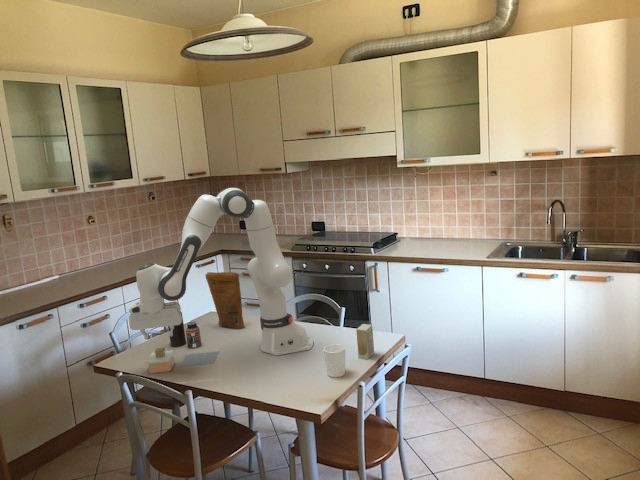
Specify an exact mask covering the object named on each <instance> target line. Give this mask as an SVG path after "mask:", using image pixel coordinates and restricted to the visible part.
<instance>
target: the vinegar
mask: <svg viewBox="0 0 640 480" xmlns="http://www.w3.org/2000/svg"><path fill="white" fill-rule="evenodd" d="M172 302H176V303H178V304H179V302H178V300H176V301H168V303H172ZM180 312H181V315H182V319H183V320H182V323H181V324H180V325H175V326H174V329H173V336H170V337H169V344H170V347H171V348H181V347H184V346H185V345H187V337H186V330H185V326H184V318H183V312H182V311H180ZM167 328H168V332H169V331H171V328H170V326H167Z"/></svg>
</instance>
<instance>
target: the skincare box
mask: <svg viewBox="0 0 640 480" xmlns="http://www.w3.org/2000/svg"><path fill="white" fill-rule="evenodd" d="M355 330H356V341H357V342H356V343H357V354H358V358H359V359H365V360H369V359H370V358H371V357H372V356H373V355H374V354H375V345H374V343H375V342H374V331H373V330H374V329H373V324H367V323H362V324H360V325H359V326H358V327H357V328H356V329H355Z"/></svg>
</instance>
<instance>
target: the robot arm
mask: <svg viewBox="0 0 640 480" xmlns="http://www.w3.org/2000/svg"><path fill="white" fill-rule="evenodd" d="M223 215H227V216H229V217H232V218H236V219H238V218H241V219H243V221H244V223H245V229H246V233H247V237H248V242H249V246H250V249H251V251H252V252H253V253H254V256H255V257H253V258H251V260H249V262H248V264H247V272H248V275H249V276H250V277H251V280H252V282H253V285H254V288H255V291H256V294H257V299H258V303H259V311H260V317H259V321H260V328H261V345H260V350H261V351H262V352H264V353H267V354H271V355H272V356H282V355H286V354H292V353H298V352H304V351H305V352H306V351H308V350H311V349H312V348H313V347H314V340H313V338H312V337H311V336H309V335H308V334H307V331H306V329H305V328H304V327H303V326H302V325H300V324H298V323H297V322H295V321H294V318H293V315H292V313H291V312H290V313H288V312H287V311H288V310H287V302H286V296H285V293H284V292H283V290H282V288H284V287H286V286H288V285H289V284H290V283H291V281H292V279H293V269H292V268H291V266H290V265H289V264H288V262H287V260H286V259H285V257H284V254H283V253H282V249H280V245H279V243H278V240H277V236H276V231H275V226H274V222H273V218H272V213H271V211H270V208H269V205H268V203H267V202H266V201H264V200H263V199H262V200H261V199H251V198H250V197H249V196H248V194H246V192H244V191H243V190H242V189H240V188H238V187H234V186H230V187H229V186H228V187H225V188H224V189H222V190H221V191H219V192H217V193H216V194H215V195H211V194H202V195H200V196H199V197H198V198H197V200H196V201H195V203H194V204H193V205H192V207H191V208H190V211H189V213H188V214H187V216H186V219H185V221H184V224H183V228H182V231H181V245H180V249H179V252H178V254H177V256H176V259H175V261H174V263H173V265H172V267H167V266H163V265H159V264H157V263H155V262H150V263H147V264H146V263H145V264H144V265H141V266H140V267H139V268H138V269H137V271H136V274H135V275H136V284H137V290H138V292H139V294H140V296H139V301H137V302H135V303H134V304H132V305H131V306H130V308H129V309H128V310H129V313H130V314H129V317H128V323H129V328H130V330H132V331H140V333H141V335H143V336H144V340H149V339H150V333H147V332H146V330H147V329H155V328H156V329H157V328H165V327H168V326H170V328H171V331H169V330H168V332H167V335H168V337H169V338H170V336H173V329H174V326H175V325H180V324H181V323H182V320H183V321H184V318H183V319H182V317H183V314H182V315H181V312H182V311H181V310H182V308H181V304H180V303H179V302H178V303H176V302H174V301H178V300H180V299H181V298H182V297H184V295H185V294H186V290H187V279H188V278H187V277H188V275H189V273H190V270H191V268H192V266H193V264H194V262H195V260H196V257H197V255H198V254H199V252H200V251H201V249H202V248H203V246H204V245H205V243H206V242H207V240H208V239H209V237H210V236H211V234H212V232H213V230H214V229H215V226H216V224H217V222H218V220H219V219H220V218H221V217H222V216H223ZM165 301H168V302H165ZM169 302H172V303H169ZM180 311H181V312H180Z"/></svg>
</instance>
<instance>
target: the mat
mask: <svg viewBox="0 0 640 480" xmlns="http://www.w3.org/2000/svg"><path fill="white" fill-rule="evenodd" d="M219 353H220V352H219V350H218V351H208V352H199V353H187V354H185V356H184V358H183V360H182V362H181V363H180V365H179V367H180V368H181V367H189V366H199V365H201V366H202V365H212V364H215V363H216V361H217V358H218V356H219Z"/></svg>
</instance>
